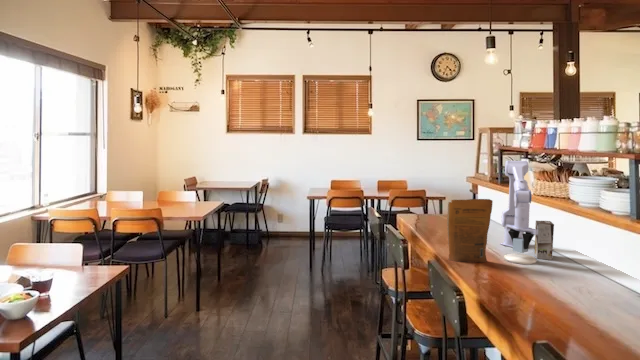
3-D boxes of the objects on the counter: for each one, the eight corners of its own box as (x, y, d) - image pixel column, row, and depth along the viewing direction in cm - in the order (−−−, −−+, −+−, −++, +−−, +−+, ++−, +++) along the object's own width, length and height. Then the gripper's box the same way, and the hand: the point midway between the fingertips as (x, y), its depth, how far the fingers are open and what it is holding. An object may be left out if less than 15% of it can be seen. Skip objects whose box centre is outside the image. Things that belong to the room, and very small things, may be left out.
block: (518, 249, 190) (519, 237, 189) (528, 251, 186) (528, 239, 185) (512, 250, 187) (513, 238, 187) (521, 252, 184) (522, 240, 183)
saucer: (515, 254, 196) (516, 252, 196) (542, 261, 185) (542, 258, 185) (497, 258, 189) (498, 256, 189) (524, 266, 178) (524, 263, 178)
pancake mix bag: (492, 264, 181) (494, 199, 178) (446, 262, 184) (448, 199, 182) (488, 259, 188) (490, 197, 185) (444, 258, 191) (446, 197, 188)
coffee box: (552, 260, 187) (554, 224, 186) (536, 258, 189) (538, 223, 188) (549, 254, 196) (550, 220, 194) (533, 253, 198) (535, 219, 196)
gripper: (501, 215, 190) (500, 245, 191) (531, 221, 177) (530, 252, 178) (511, 214, 193) (510, 243, 194) (541, 219, 181) (540, 250, 182)
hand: (520, 247), depth 187 cm, fingers closed on block, 4 cm apart
